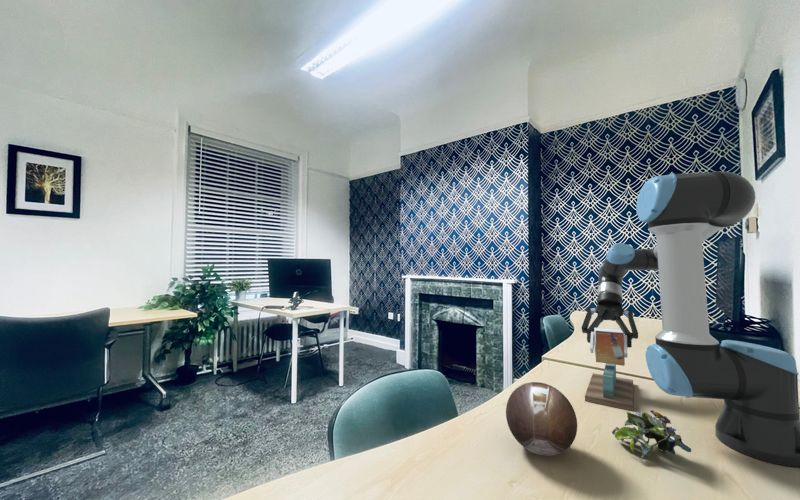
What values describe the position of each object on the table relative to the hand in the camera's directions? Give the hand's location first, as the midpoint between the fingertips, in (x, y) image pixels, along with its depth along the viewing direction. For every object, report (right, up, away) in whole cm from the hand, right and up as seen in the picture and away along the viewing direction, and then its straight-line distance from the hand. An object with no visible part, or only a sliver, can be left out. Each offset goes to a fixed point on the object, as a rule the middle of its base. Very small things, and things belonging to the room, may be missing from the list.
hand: (608, 352), depth 103 cm
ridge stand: (+2, -13, +2) cm, 14 cm away
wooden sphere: (-34, -13, -29) cm, 47 cm away
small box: (+2, -4, +3) cm, 5 cm away
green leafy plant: (-11, -13, -31) cm, 36 cm away
